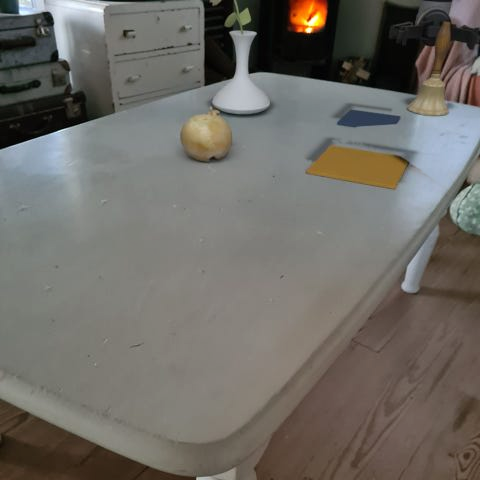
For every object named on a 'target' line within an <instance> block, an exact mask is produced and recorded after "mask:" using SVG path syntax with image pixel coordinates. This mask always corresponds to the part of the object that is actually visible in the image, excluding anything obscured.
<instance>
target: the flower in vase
mask: <svg viewBox="0 0 480 480" xmlns="http://www.w3.org/2000/svg"><path fill="white" fill-rule="evenodd" d="M221 2H222V0H209V3H211V4H212V7H214V6H217V5H218V4H219V3H221ZM233 3H234V5H235V9H236V12H232V13H231V14H230V15H228V16H227V18H226V20H225V22H224V27H226V28H231V27H233V25H234V24H235V23H236V21H237V22H238V23H239V24H238V25H239V28H240V30H231V31H229V35H230V37H231V39H232V41H233V44H234V48H235V49H234V50H235V59H236V60H235V62H236V65H235V73H234V76H233V77H232V79H231V80H230V81H229V82H228V83H227V84H226V85H224V86H223V87H222V88H220V90H218V92H216V94H215V95H214V96H213V97H212V105H213V106H214V108H216V110H218V111H221V112H224V113H227V114H228V113H229V114H234V115H235V114H236V115H252V114H257V113H260V112H263V111H265V110H267V109H268V108H269V107H270V105H271V100H270V98H269V97H268V95H267V94H266V92H264V91H263V90H262V89H261V88H260V87H259V86H258V85H257V84H256V83H255V82H254V81H253V79H252V78H251V76H250V73H249V58H250V57H249V56H250V51H251V46H252V43H253V41H254V40H255V37H256V36H257V34H258V33H257V32H256V31H252V30H244V29H243V26H245V25H247V24H249V23H250V22H251V21H252V18H251V17H252V16H251V14H250V11H249V8H248V7H246V8H245V9H244V10H243V11H241V12H240V11H239V7H238V3H237V0H233Z"/></svg>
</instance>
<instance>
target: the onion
mask: <svg viewBox="0 0 480 480" xmlns="http://www.w3.org/2000/svg"><path fill="white" fill-rule="evenodd" d="M209 110H210V111H208V112H207V113H198V114H195V115H194V116H192V117H190V118H189V119H187V120H186V121H185V123H184V124H183V126H182V128H181V130H180V135H179V136H180V137H179V138H180V143H181V146H182V148H183V150H184V152H185V153H186V154H187V156H189V157H190V158H192V159H193V160H196V161H200V162H206V163H209V162H211V161H212V160H211V158H215V159H216V160H220V159H222V158H224V157H225V156H226V155H227V154H228V153H229V151H230V150H231V148H232V145H233V133H232V129H231V127H230V125H229V124H228V122H227V120H225V119H224V118H223V117H222V116H220V113H221V112H220V110H219V109H213V107H212V106H211V105H210V106H209Z"/></svg>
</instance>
